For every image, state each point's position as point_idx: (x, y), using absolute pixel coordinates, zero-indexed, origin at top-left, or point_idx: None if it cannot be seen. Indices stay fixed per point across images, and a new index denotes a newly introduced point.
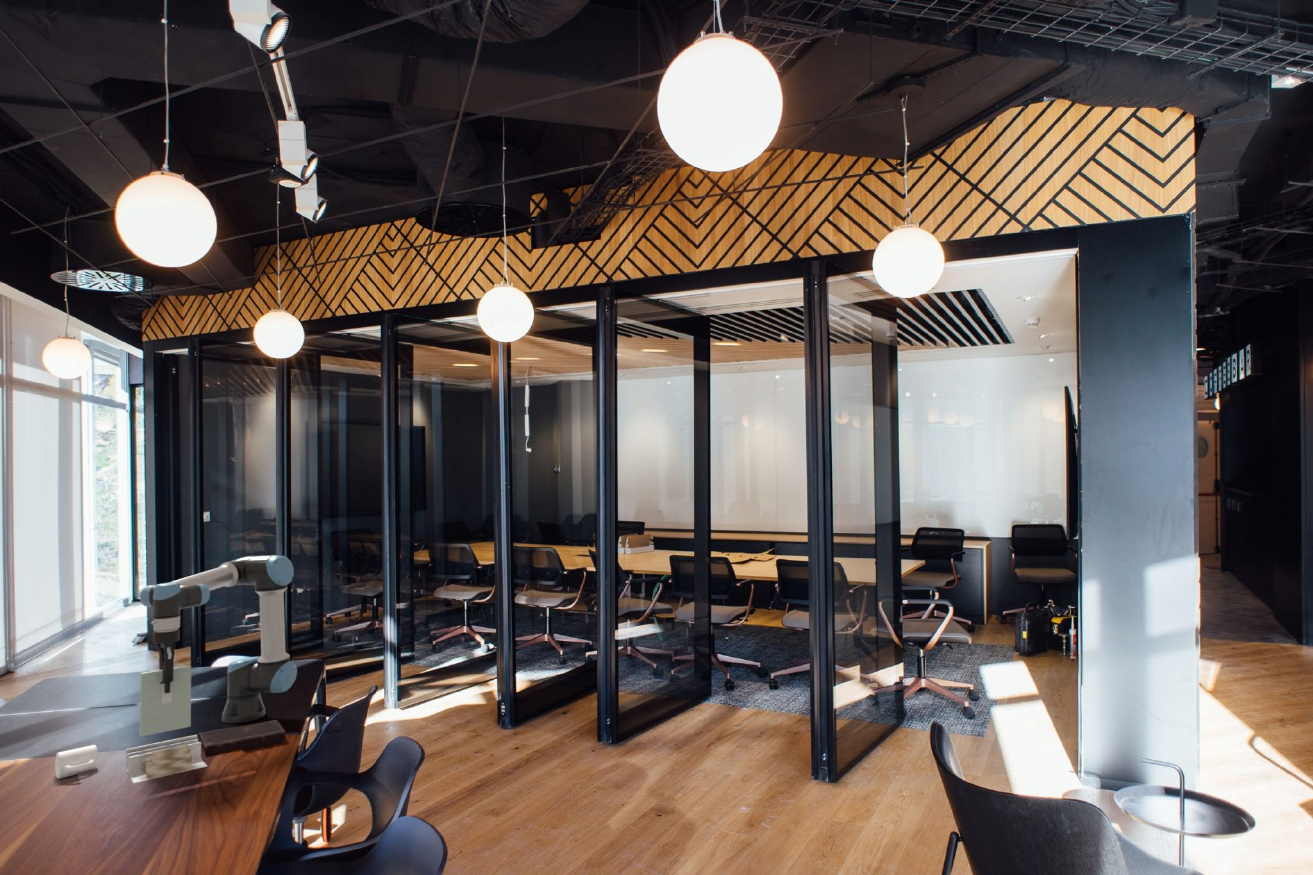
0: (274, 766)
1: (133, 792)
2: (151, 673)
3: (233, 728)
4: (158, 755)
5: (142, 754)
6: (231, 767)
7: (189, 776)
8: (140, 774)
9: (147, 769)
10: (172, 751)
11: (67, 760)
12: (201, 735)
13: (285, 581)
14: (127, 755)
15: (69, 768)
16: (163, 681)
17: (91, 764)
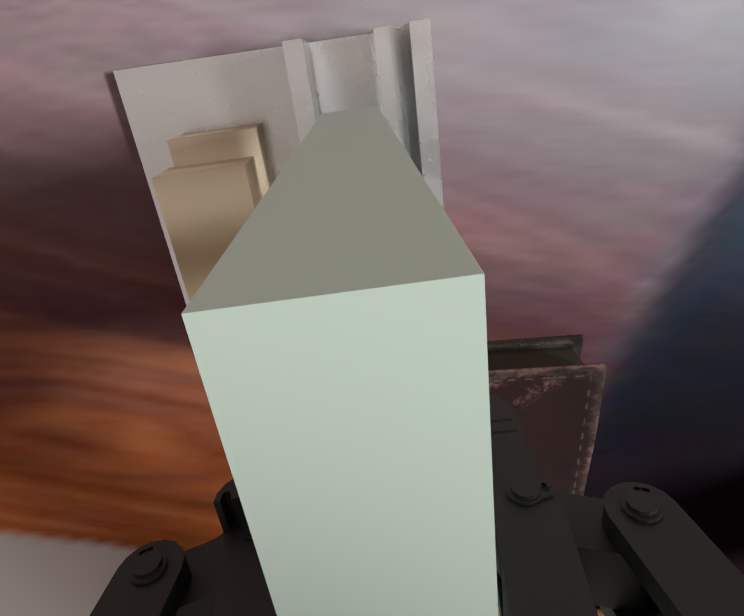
0: (111, 528)
1: (24, 71)
2: (259, 531)
3: (568, 477)
4: (159, 201)
5: (305, 116)
6: (179, 422)
7: (146, 292)
8: (245, 101)
9: (177, 137)
10: (198, 266)
11: None
12: (558, 371)
13: None
14: (373, 30)
15: None
16: (223, 538)
17: None
